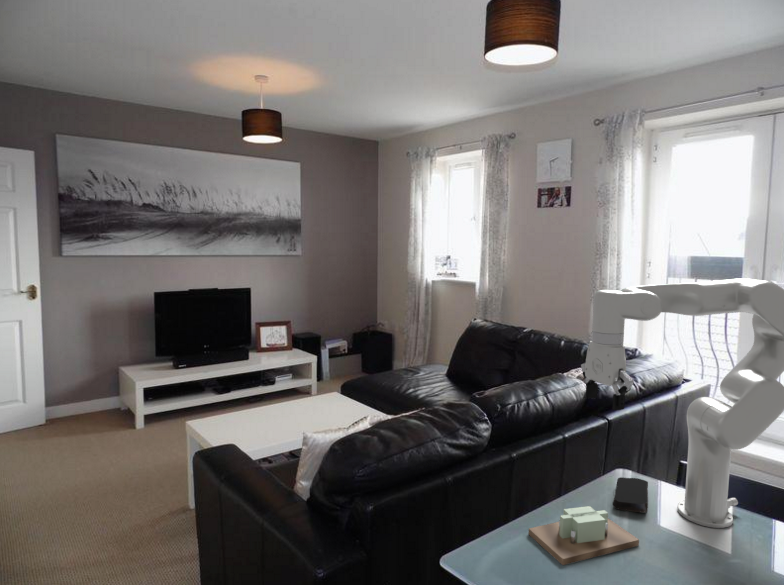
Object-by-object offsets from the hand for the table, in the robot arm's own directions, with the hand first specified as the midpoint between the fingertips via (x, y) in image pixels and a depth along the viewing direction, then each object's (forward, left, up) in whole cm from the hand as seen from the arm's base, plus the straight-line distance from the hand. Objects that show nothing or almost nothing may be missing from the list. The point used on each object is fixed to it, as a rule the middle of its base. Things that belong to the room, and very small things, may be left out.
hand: (604, 403), depth 135 cm
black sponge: (-14, -3, -31) cm, 34 cm away
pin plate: (+12, +8, -30) cm, 34 cm away
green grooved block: (+12, +8, -29) cm, 32 cm away
